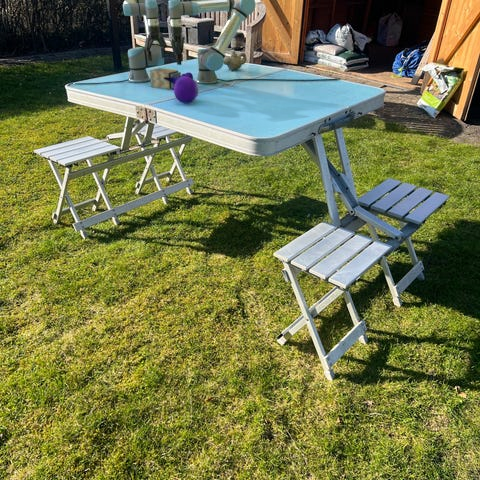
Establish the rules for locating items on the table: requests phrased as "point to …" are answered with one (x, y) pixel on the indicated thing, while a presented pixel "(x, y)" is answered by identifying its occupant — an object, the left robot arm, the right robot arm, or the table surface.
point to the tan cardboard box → (160, 78)
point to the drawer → (176, 75)
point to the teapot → (235, 61)
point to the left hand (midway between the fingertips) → (157, 59)
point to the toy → (184, 87)
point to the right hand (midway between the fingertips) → (179, 64)
